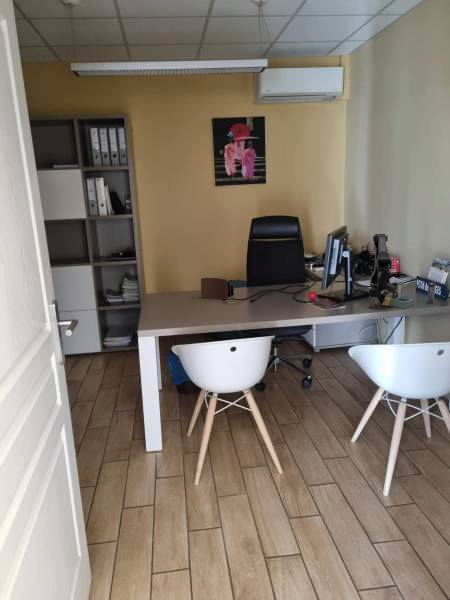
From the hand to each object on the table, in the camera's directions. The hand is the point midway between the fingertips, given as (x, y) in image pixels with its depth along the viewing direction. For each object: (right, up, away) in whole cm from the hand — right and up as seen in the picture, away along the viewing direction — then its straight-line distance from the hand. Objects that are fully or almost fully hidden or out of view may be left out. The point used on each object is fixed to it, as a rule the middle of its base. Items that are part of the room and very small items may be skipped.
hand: (381, 303), depth 274 cm
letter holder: (-97, +4, +35) cm, 104 cm away
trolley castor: (+12, +1, +9) cm, 15 cm away
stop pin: (+30, 0, +2) cm, 30 cm away
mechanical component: (+17, +3, +17) cm, 24 cm away
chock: (+4, 0, +3) cm, 5 cm away
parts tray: (+11, -1, -2) cm, 12 cm away
